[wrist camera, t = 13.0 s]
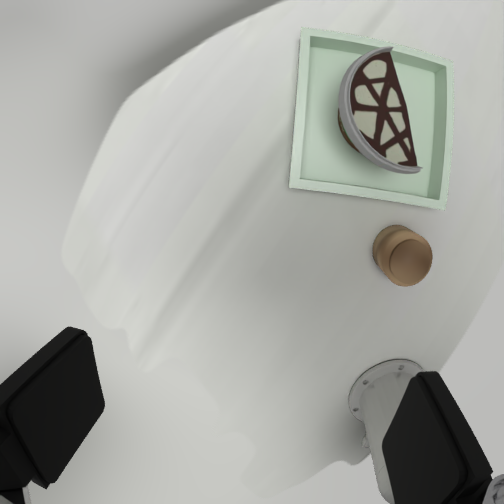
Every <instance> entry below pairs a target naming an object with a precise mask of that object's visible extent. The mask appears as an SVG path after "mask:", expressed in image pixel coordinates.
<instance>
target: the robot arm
mask: <svg viewBox="0 0 504 504" xmlns="http://www.w3.org/2000/svg"><path fill="white" fill-rule="evenodd" d="M349 406H350V410H351V412H352V414H353V415H354V416H355V417H356V418H357V419H358V420H360V421H362V422H364V424H365V429H366V434H365V436H364V438H363V440H362V443H361V444H362V446H363V447H365V448H369V447H370V450H371V455H372V459H373V464H374V469H375V474H376V479H377V483H378V487H379V491H380V493H381V495H382V496H383V498H384V499H385V500H386V501H387V502H388V503H390V504H504V474H502V475H500V476H497V477H495V478H494V479H492V477H491V474H492V472H493V470H492V468H491V466H490V464H489V462H488V460H487V458H486V456H485V454H484V452H483V450H482V448H481V446H480V445H479V443H478V441H477V439H476V437H475V435H474V434H473V431H472V430H471V428H470V426H469V424H468V422H467V421H466V419H465V417H464V415H463V413H462V412H461V410H460V408H459V406H458V405H457V403H456V401H455V400H454V398H453V396H452V395H451V393H450V391H449V390H448V388H447V386H446V385H445V383H444V381H443V380H442V378H441V376H440V375H439V373H438V372H436V371H431V372H424V371H423V370H422V368H421V367H420V366H419V365H418V364H416V363H414V362H412V361H408V360H391V361H388V362H384V363H381V364H379V365H377V366H375V367H373V368H371V369H370V370H368V371H367V372H365V373H364V374H363V375H362V376H361V377H360V378H359V379H358V380H357V381H356V383H355V384H354V385H353V387H352V389H351V392H350V395H349ZM104 407H105V401H104V398H103V393H102V389H101V385H100V380H99V376H98V371H97V366H96V362H95V356H94V352H93V345H92V341H91V338H90V337H89V336H88V335H87V333H86V332H85V331H84V330H81V329H77V328H73V327H67V328H65V329H64V330H63V331H61V332H60V333H59V334H58V335H57V336H55V337H54V338H53V339H52V340H51V341H50V342H48V343H47V344H46V345H45V346H44V347H42V348H41V349H40V350H39V351H38V352H37V353H35V354H34V355H33V356H32V357H31V358H30V359H29V360H27V361H26V362H25V363H24V364H23V365H22V366H21V367H20V368H18V369H17V370H16V371H15V372H14V373H13V374H12V375H10V376H9V377H8V378H7V379H6V380H5V381H4V382H3V383H2V384H1V385H0V504H31V499H30V494H29V489H28V483H29V482H30V481H31V480H32V481H33V482H34V483H36V484H38V485H39V486H41V487H43V488H45V489H47V488H48V486H49V484H50V483H55V482H56V481H57V479H58V478H59V476H60V475H61V473H62V472H63V470H64V469H65V467H66V466H67V464H68V462H69V461H70V460H71V458H72V457H73V455H74V454H75V452H76V451H77V449H78V448H79V446H80V445H81V443H82V442H83V440H84V439H85V437H86V436H87V435H88V433H89V431H90V430H91V429H92V427H93V426H94V424H95V423H96V421H97V420H98V418H99V417H100V416H101V414H102V413H103V410H104Z"/></svg>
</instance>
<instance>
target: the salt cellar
mask: <svg viewBox="0 0 504 504" xmlns="http://www.w3.org/2000/svg"><path fill="white" fill-rule="evenodd" d="M373 257H374V260H375V262H376V264H377V265H378V266H379V267H380V269H381V270H382V271H383V272H384V273H385V275H386V276H387V277H388V278H389V279H390V280H391V281H392V282H393V283H394V284H396V285H399V286H412V285H415V284H417V283H418V282H420V281H421V280H422V279H423V278H424V277H425V276H426V275H427V273H428V272H429V270H430V267H431V264H432V250H431V247H430V245H429V243H428V242H427V241H426V240H425V239H424V238H423V237H422V236H420V235H418V234H416V233H415V232H413V231H411V230H409V229H408V228H406V227H404V226H401V225H392V226H389V227H387V228H385V229H383V230H382V231H381V232H380V233H379V234H378V235H377V237H376V239H375V241H374V244H373Z"/></svg>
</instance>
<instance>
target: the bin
mask: <svg viewBox="0 0 504 504" xmlns="http://www.w3.org/2000/svg"><path fill="white" fill-rule="evenodd" d="M388 46H391V47H394V48H393V49H392V51H391V52H390V54H391V57H392V60H393V63H394V66H395V70H396V73H397V77H398V80H399V83H400V86H401V89H402V92H403V95H404V99H405V102H406V105H407V110H408V115H409V121H410V128H411V133H412V139H413V144H414V150H415V154H416V157H417V166H419V167H423V169H420V170H421V171H420V172H418V173H416V174H401V173H395V172H392V171H388V170H386V169H384V168H381V167H379V166H378V165H376V164H374V163H373V162H371V161H370V160H369V159H367V158H366V157H365V156H364V155H362V154H361V153H359V152H357V151H356V150H355V149H353V148H352V147H351V146H350V145H349V144H348V143H347V141H346V140H345V139H344V137H343V135H342V133H341V131H340V128H339V125H338V108H339V106H338V95H339V89H340V84H341V81H342V78H343V76H344V74H345V73H346V71H347V69H348V68H349V67H350V65H351V64H352V63H353V62H354V61H355V60H356V59H358V58H359V57H360V56H362V55H364V54H366V53H368V52H370V51H372V50H375V49H378V48H381V47H388ZM453 125H454V72H453V61H451V60H448V59H445V58H442V57H439V56H436V55H433V54H430V53H427V52H424V51H420V50H417V49H413V48H410V47H406V46H402V45H399V44H395V43H391V42H387V41H382V40H378V39H373V38H368V37H364V36H358V35H353V34H347V33H341V32H335V31H328V30H321V29H313V28H304V27H301V35H300V48H299V63H298V78H297V92H296V105H295V118H294V130H293V142H292V153H291V164H290V175H289V188H296V189H305V190H313V191H322V192H330V193H338V194H345V195H353V196H360V197H367V198H374V199H380V200H387V201H393V202H399V203H405V204H411V205H417V206H423V207H428V208H434V209H439V210H445V209H446V202H447V195H448V187H449V178H450V169H451V158H452V144H453Z"/></svg>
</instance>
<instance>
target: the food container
mask: <svg viewBox="0 0 504 504" xmlns="http://www.w3.org/2000/svg"><path fill="white" fill-rule="evenodd" d="M393 48H394V47H391V46H388V47H381V48H378V49H375V50H372V51H370V52H368V53H366V54H364V55H362V56H360V57H359V58H358V59H356V60H355V61H354V62H353V63H352V64H351V65H350V67H349V68H348V69H347V71H346V73H345V74H344V76H343V78H342V81H341V84H340V89H339V95H338V106H339V108H338V125H339V128H340V131H341V133H342V135H343V137H344V139H345V140H346V141H347V143H348V144H349V145H350V146H351V147H352V148H353V149H355V150H356V151H357V152H359V153H361V154H362V155H364V156H365V157H366V158H367V159H369V160H370V161H371V162H373V163H374V164H376V165H378V166H379V167H381V168H384V169H386V170H388V171H392V172H395V173H401V174H416V173H418V172H420V171H421V170H420V169H423V167H419V166H417V157H416V154H415V150H414V144H413V139H412V133H411V128H410V121H409V115H408V110H407V105H406V102H405V99H404V95H403V92H402V89H401V86H400V83H399V80H398V77H397V73H396V70H395V66H394V63H393V60H392V57H391V54H390V52H391V51H392V49H393Z"/></svg>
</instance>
